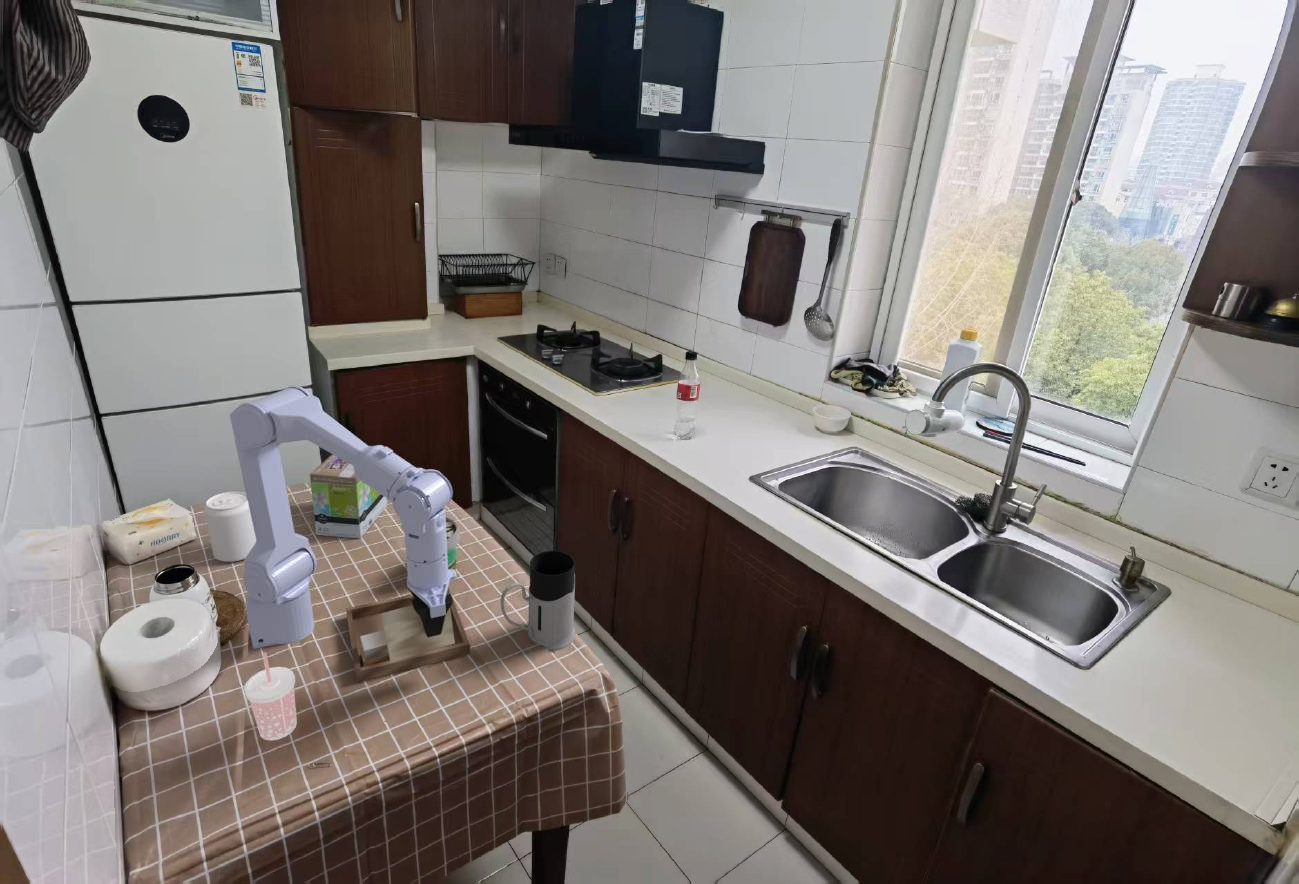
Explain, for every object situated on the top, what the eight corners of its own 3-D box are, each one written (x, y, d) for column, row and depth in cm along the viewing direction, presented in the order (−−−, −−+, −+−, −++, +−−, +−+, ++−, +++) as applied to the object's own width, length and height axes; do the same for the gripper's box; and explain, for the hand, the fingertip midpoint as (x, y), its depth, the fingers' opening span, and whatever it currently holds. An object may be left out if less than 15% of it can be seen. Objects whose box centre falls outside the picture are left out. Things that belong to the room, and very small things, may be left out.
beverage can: (263, 557, 134) (254, 504, 129) (215, 568, 129) (204, 513, 124) (258, 538, 140) (249, 487, 135) (212, 548, 135) (201, 495, 130)
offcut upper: (365, 660, 106) (364, 650, 105) (361, 646, 109) (360, 636, 108) (405, 649, 109) (404, 639, 108) (399, 635, 112) (398, 625, 111)
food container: (443, 596, 127) (441, 551, 123) (413, 590, 127) (410, 545, 124) (472, 561, 138) (471, 519, 134) (444, 556, 139) (442, 514, 135)
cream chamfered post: (390, 662, 101) (383, 625, 98) (388, 649, 103) (381, 613, 100) (454, 643, 105) (449, 607, 102) (450, 631, 107) (445, 596, 104)
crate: (357, 686, 104) (355, 672, 103) (347, 621, 118) (345, 608, 117) (470, 657, 112) (469, 644, 111) (448, 599, 126) (448, 587, 125)
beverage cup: (291, 708, 100) (277, 632, 94) (310, 730, 96) (298, 653, 91) (246, 731, 95) (230, 653, 90) (266, 756, 92) (249, 676, 86)
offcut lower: (364, 671, 106) (362, 661, 106) (361, 654, 110) (360, 645, 109) (413, 658, 110) (412, 649, 109) (409, 643, 113) (408, 633, 112)
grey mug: (585, 637, 119) (588, 566, 113) (515, 671, 110) (515, 596, 104) (557, 612, 125) (559, 543, 119) (488, 643, 116) (487, 569, 110)
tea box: (362, 539, 142) (356, 477, 136) (315, 536, 142) (306, 473, 136) (389, 505, 156) (384, 447, 150) (345, 502, 156) (339, 444, 150)
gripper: (465, 573, 94) (468, 650, 99) (444, 523, 106) (448, 595, 111) (413, 584, 91) (419, 663, 96) (397, 531, 102) (403, 604, 108)
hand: (431, 627), depth 103 cm, fingers closed on cream chamfered post, 3 cm apart
